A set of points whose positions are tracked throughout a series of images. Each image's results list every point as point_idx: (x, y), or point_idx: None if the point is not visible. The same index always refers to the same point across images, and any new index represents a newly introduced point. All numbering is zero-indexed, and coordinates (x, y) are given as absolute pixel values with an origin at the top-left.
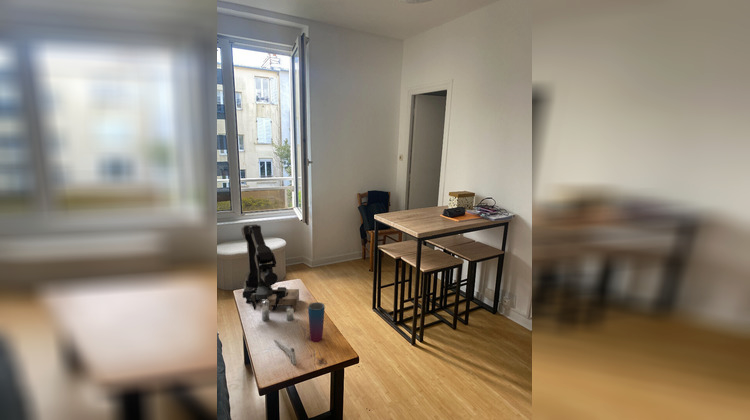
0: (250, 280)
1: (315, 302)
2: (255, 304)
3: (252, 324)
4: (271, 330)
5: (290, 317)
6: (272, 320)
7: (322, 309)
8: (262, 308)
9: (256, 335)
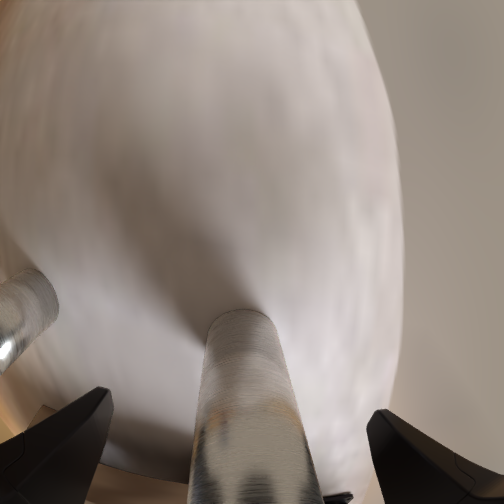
0: None
1: None
2: (389, 474)
3: (369, 268)
4: (177, 97)
5: (8, 279)
6: (174, 316)
7: None
8: (299, 427)
9: (325, 41)
